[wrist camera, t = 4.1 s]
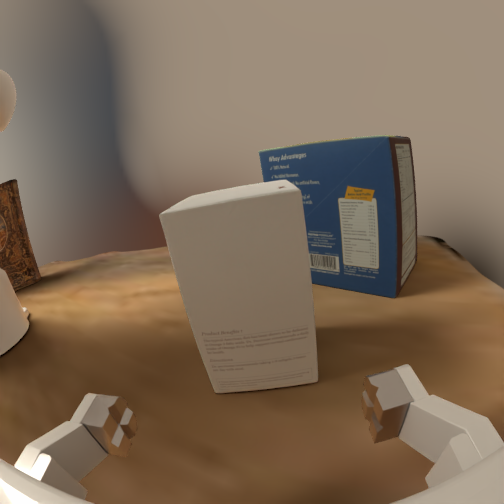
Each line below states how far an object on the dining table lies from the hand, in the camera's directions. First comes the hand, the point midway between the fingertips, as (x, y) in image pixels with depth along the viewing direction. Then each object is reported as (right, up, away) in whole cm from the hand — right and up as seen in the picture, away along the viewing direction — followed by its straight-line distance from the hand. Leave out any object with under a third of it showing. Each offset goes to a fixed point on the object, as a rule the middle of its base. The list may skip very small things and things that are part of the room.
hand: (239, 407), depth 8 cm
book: (-58, -4, +42) cm, 71 cm away
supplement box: (+1, -3, +13) cm, 13 cm away
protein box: (+12, +3, +25) cm, 28 cm away
